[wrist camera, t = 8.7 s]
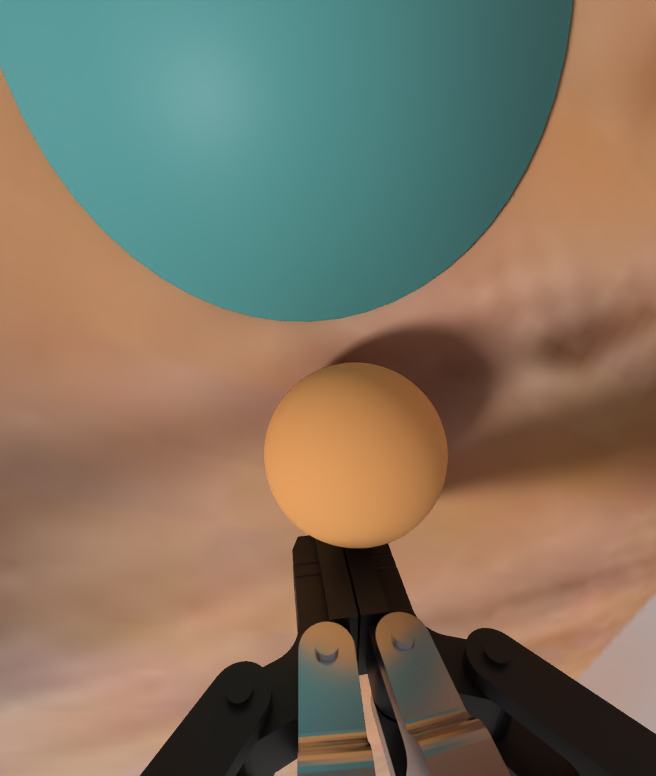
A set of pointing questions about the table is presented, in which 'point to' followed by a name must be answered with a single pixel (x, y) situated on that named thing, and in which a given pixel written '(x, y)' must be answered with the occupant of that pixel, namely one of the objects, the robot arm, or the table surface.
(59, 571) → the table surface
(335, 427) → the ball
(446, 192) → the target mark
